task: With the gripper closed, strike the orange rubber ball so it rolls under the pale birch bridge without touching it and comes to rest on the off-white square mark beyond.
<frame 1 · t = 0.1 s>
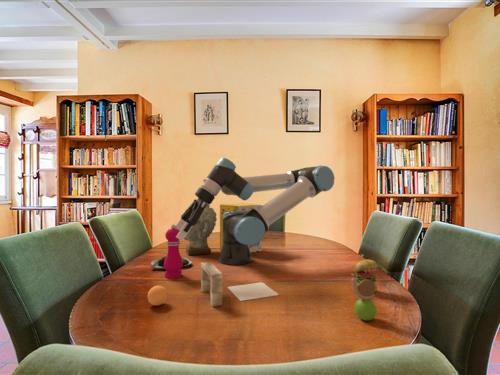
hand: (176, 236, 114), 15 cm above the table, tool tilted 35°, fingers open, 13 cm apart
pepper mill: (173, 276, 114), on the table
bridge: (210, 297, 92), on the table
snail figurine: (363, 320, 76), on the table
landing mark: (252, 291, 97), on the table
buddha head: (199, 252, 155), on the table
packaging box: (240, 250, 159), on the table
hamburger: (365, 291, 97), on the table
salad plate: (170, 266, 129), on the table
ball: (157, 295, 86), on the table
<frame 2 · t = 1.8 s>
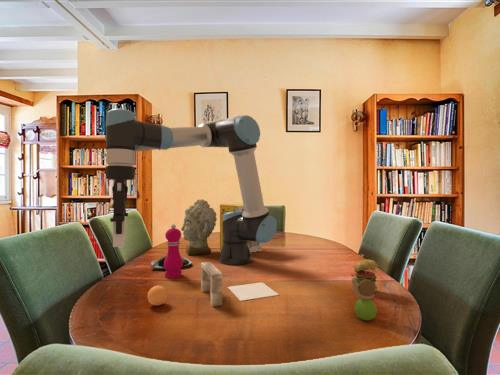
hand: (119, 242, 82), 19 cm above the table, tool pointing down, fingers open, 12 cm apart
nothing on the table moved.
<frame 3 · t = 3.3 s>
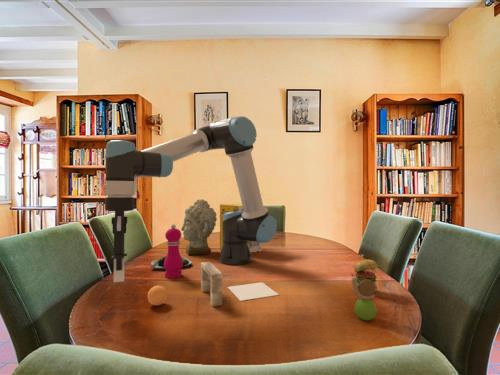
hand: (119, 280, 82), 8 cm above the table, tool pointing down, fingers closed
nothing on the table moved.
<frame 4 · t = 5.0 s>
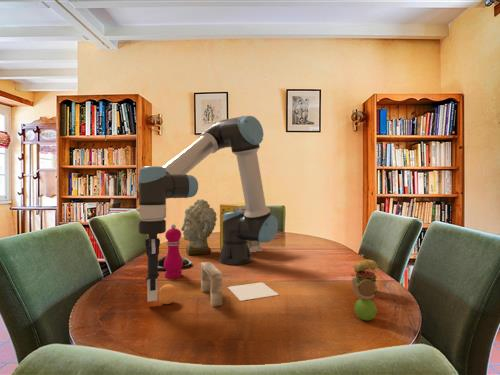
hand: (152, 300, 86), 1 cm above the table, tool pointing down, fingers closed
ball: (167, 294, 87), on the table
everything else where it was.
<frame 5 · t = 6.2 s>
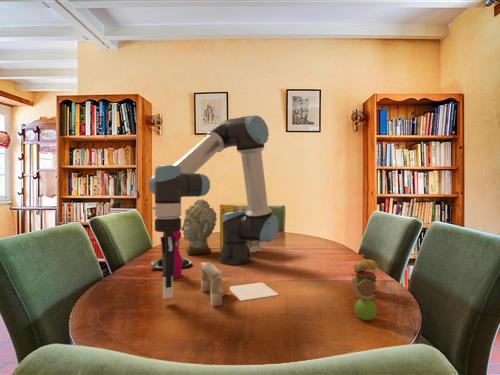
hand: (168, 296, 87), 2 cm above the table, tool pointing down, fingers closed
ball: (221, 286, 93), on the table
everything else where it was.
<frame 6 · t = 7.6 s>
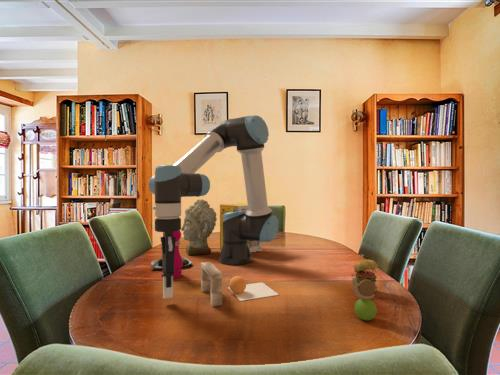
hand: (168, 296, 87), 2 cm above the table, tool pointing down, fingers closed
ball: (237, 284, 95), on the table
everything else where it was.
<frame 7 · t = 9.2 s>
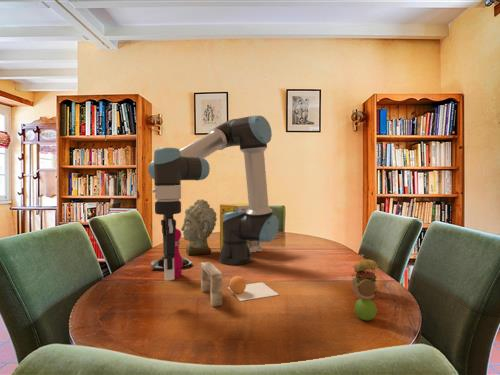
hand: (169, 279, 87), 7 cm above the table, tool pointing down, fingers closed
nothing on the table moved.
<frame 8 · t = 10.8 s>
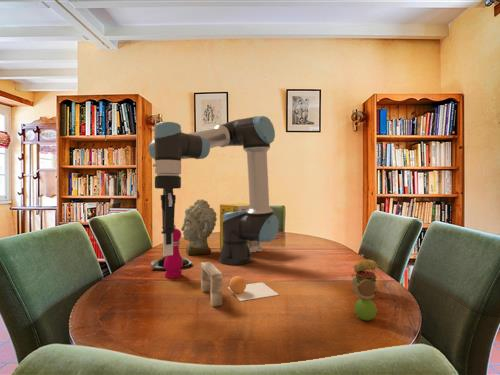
hand: (168, 254, 87), 14 cm above the table, tool pointing down, fingers closed
nothing on the table moved.
at the end: ball 5.1 cm from the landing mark (horizontally); ball never touched bridge; ball at rest at the end (0.0 cm/s) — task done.
